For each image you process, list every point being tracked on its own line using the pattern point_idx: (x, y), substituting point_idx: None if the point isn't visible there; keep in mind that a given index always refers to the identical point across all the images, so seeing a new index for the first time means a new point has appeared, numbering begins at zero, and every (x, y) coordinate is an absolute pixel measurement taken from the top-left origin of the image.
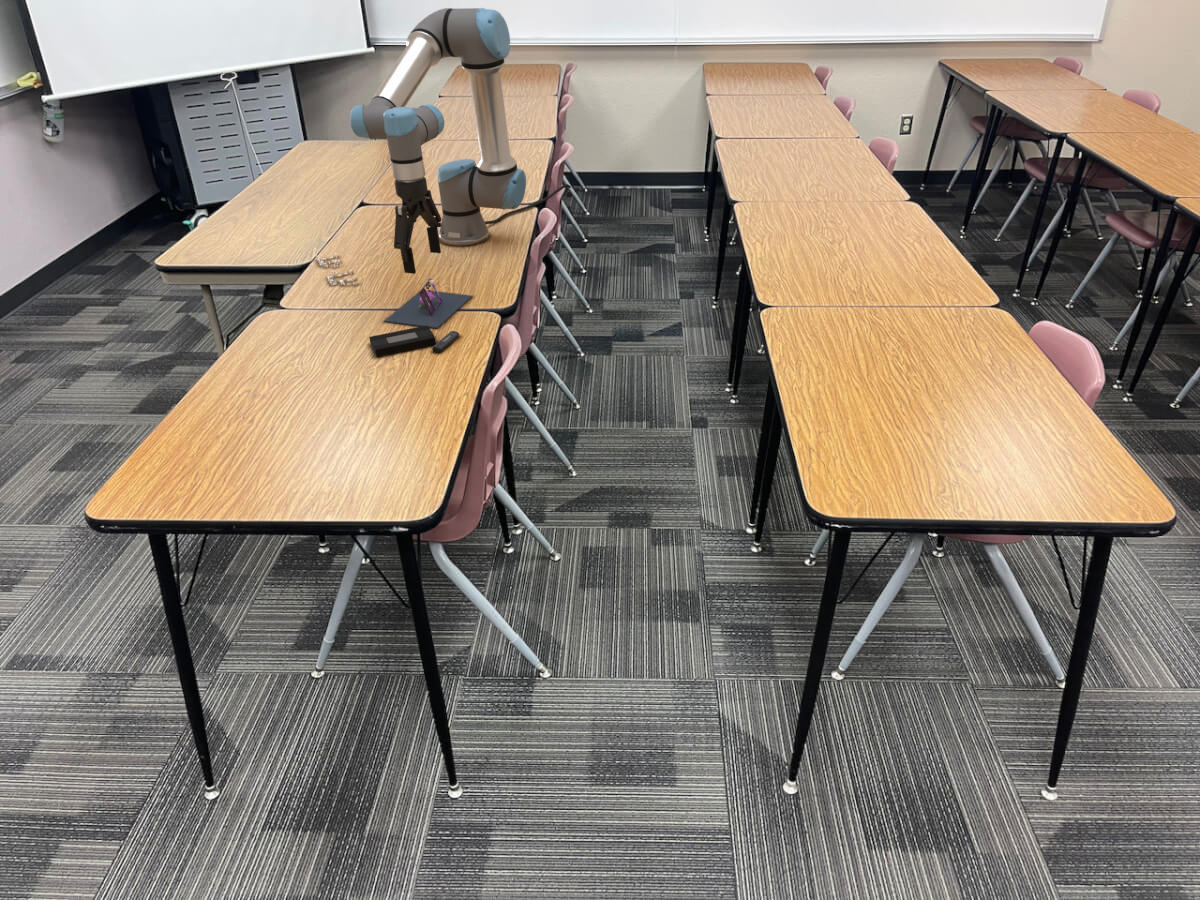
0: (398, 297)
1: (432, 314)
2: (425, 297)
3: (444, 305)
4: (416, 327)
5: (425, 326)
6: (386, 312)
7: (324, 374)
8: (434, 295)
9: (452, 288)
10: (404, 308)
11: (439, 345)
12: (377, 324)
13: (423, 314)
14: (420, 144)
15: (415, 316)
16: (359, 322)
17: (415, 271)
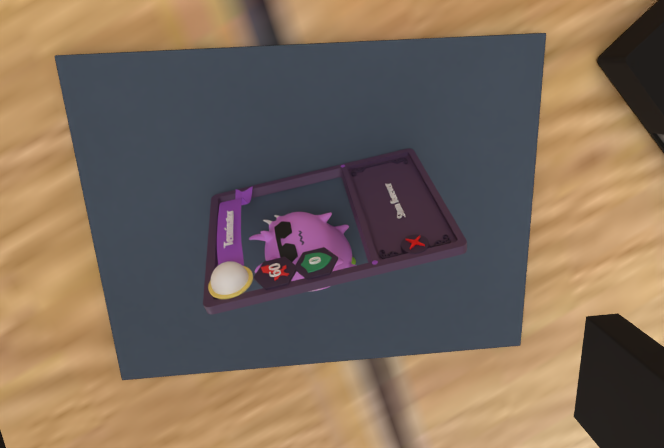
0: (242, 435)
1: (401, 150)
2: (400, 219)
3: (259, 151)
4: (660, 107)
5: (641, 61)
6: (416, 391)
7: None
8: (158, 279)
9: (4, 244)
10: (367, 334)
11: None
12: (546, 355)
13: None
14: None
15: None
16: (541, 434)
17: (600, 324)
